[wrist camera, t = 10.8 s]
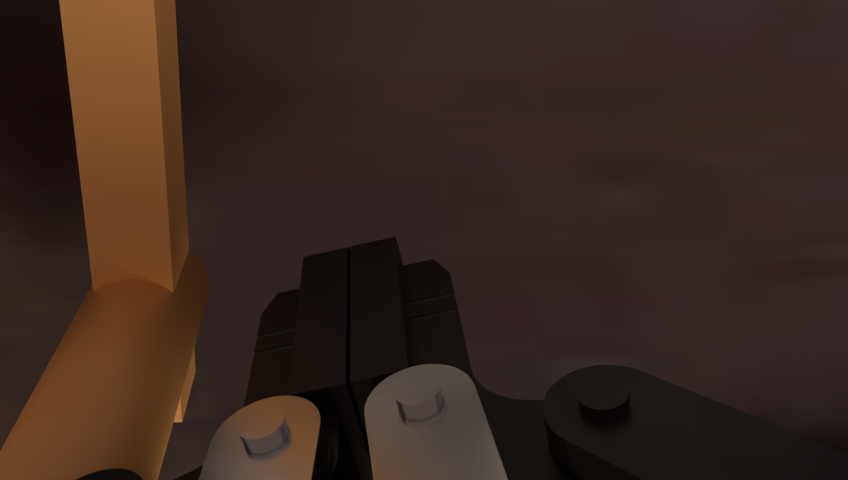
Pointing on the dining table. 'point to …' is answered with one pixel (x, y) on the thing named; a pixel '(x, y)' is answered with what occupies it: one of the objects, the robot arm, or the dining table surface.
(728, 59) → the dining table surface
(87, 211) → the crank handle
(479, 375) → the dining table surface
